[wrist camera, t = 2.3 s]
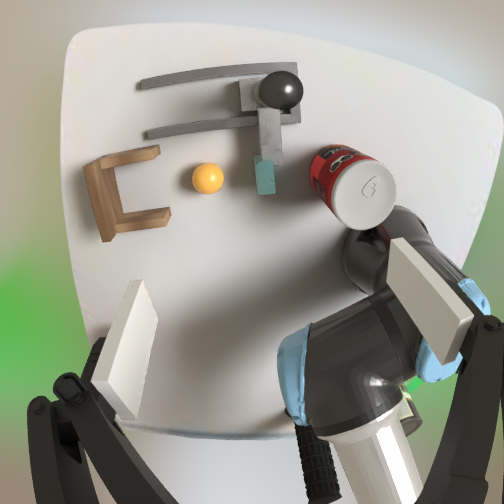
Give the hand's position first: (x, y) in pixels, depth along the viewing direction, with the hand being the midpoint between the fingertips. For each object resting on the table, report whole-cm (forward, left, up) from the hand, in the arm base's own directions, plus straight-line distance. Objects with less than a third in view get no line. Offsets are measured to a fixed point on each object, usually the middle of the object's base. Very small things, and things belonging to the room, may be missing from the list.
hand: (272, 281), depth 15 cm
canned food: (-12, +2, -27) cm, 29 cm away
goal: (+15, +1, -27) cm, 31 cm away
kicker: (-3, -4, -26) cm, 27 cm away
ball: (+5, +1, -27) cm, 27 cm away
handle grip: (-9, +57, -27) cm, 63 cm away
